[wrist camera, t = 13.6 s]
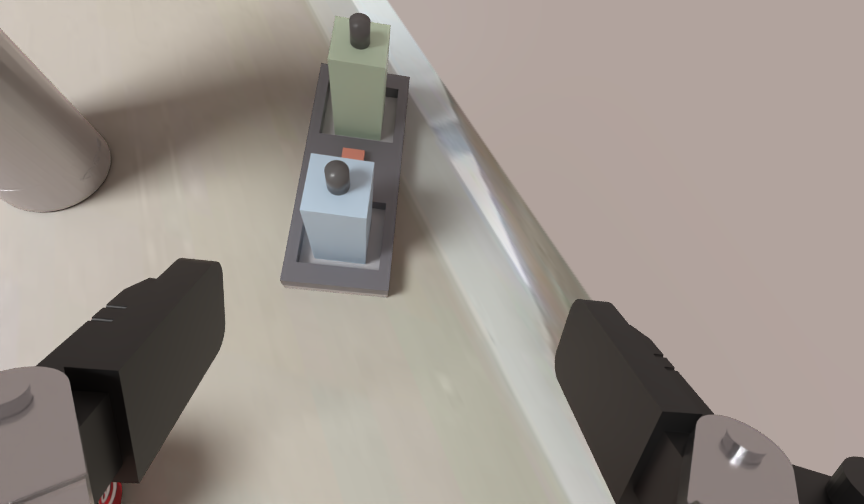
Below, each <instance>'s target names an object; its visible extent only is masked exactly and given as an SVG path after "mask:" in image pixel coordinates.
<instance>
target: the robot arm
mask: <svg viewBox="0 0 864 504" xmlns="http://www.w3.org/2000/svg"><path fill="white" fill-rule="evenodd" d="M110 164H111V153H110V150H109V147H108V144H107V143H106V141H105V140H104V138H103V137H102V136H101V135H100V134H99V133H98V132H97V131H96V129H95V128H94V127H93V126H92V125H91V124H90V123H89V122H88V121H87V120H86V119H85V118H84V117H83V116H82V115H81V114H80V112H79V111H78V110H77V109H76V108H75V107H74V106H73V105H72V104H71V103H70V102H69V101H68V99H67V98H66V97H65V96H64V95H63V94H62V93H61V92H60V91H59V90H58V89H57V88H56V87H55V86H54V85H53V84H52V82H51V81H50V80H49V79H48V78H47V77H46V76H45V75H44V74H43V73H42V72H41V71H40V70H39V69H38V68H37V67H36V65H35V64H34V63H33V62H32V61H31V60H30V59H29V58H28V57H27V56H26V55H25V54H24V53H23V52H22V51H21V50H20V49H19V47H18V46H17V45H16V44H15V43H14V42H13V41H12V40H11V39H10V38H9V37H8V36H7V35H6V34H5V33H4V32H3V30H2V29H1V28H0V199H2V200H4V201H6V202H7V203H9V204H11V205H12V206H14V207H16V208H20V209H23V210H26V211H33V212H51V211H56V210H61V209H65V208H68V207H70V206H73V205H75V204H77V203H79V202H81V201H83V200H84V199H86V198H88V197H89V196H90V195H91V194H92V193H94V192H95V191H96V190H97V189H98V188H99V186H100V185H101V184H102V183H103V182H104V180H105V178H106V176H107V174H108V172H109V168H110ZM224 332H225V310H224V291H223V273H222V267H221V265H220V263H219V262H216V261H206V260H196V259H187V258H179V259H178V260H176V261H175V262H174V263H173V264H172V265H171V266H170V267H169V268H168V269H167V270H166V271H165V272H164V273H162V274H161V275H160V276H159V277H158V278H157V279H154V278H148V279H146V280H144V281H142V282H139V283H137V284H135V285H133V286H131V287H128V288H126V289H124V290H123V291H122V292H121V293H119V294H118V295H117V296H116V297H115V298H114V299H112V300H111V301H110V302H109V303H108V304H107V306H106V308H102V309H101V310H100V311H99V312H97V313H96V314H95V315H94V316H93V317H92V320H91V321H87V322H86V323H85V324H84V325H83V326H81V327H80V328H79V329H78V330H77V331H76V332H74V333H73V334H72V335H71V336H70V337H69V338H68V339H66V340H65V341H64V342H63V343H62V344H61V345H59V346H58V347H57V348H56V349H55V350H54V351H53V352H51V353H50V354H49V355H48V356H47V357H46V358H45V359H43V360H42V361H41V362H40V363H39V364H38V365H36V366H33V367H21V368H14V369H9V370H4V371H0V504H99V500H100V498H101V497H102V495H103V494H104V492H105V491H106V489H107V488H108V486H109V485H110V483H111V482H119V483H140V481H141V479H142V478H143V476H144V474H145V473H146V471H147V469H148V468H149V466H150V464H151V463H152V461H153V459H154V458H155V456H156V455H157V453H158V451H159V450H160V448H161V446H162V445H163V443H164V441H165V440H166V438H167V436H168V435H169V433H170V431H171V430H172V428H173V426H174V425H175V423H176V421H177V420H178V418H179V416H180V415H181V413H182V411H183V410H184V408H185V406H186V405H187V403H188V402H189V400H190V398H191V397H192V395H193V393H194V392H195V390H196V388H197V387H198V385H199V383H200V382H201V380H202V378H203V377H204V375H205V373H206V372H207V370H208V368H209V367H210V365H211V363H212V362H213V360H214V358H215V357H216V355H217V353H218V352H219V350H220V347H221V345H222V341H223V337H224ZM555 372H556V377H557V380H558V382H559V384H560V386H561V388H562V390H563V393H564V395H565V397H566V399H567V401H568V403H569V405H570V407H571V410H572V412H573V414H574V416H575V418H576V420H577V422H578V424H579V427H580V429H581V431H582V433H583V435H584V437H585V439H586V441H587V444H588V446H589V448H590V450H591V452H592V454H593V456H594V459H595V461H596V463H597V465H598V467H599V469H600V471H601V473H602V476H603V478H604V480H605V482H606V484H607V486H608V488H609V490H610V493H611V495H612V497H613V499H614V501H615V503H616V504H864V458H863V457H849V458H846V459H845V460H844V461H843V463H842V464H841V465H840V466H839V468H838V469H837V471H836V472H835V473H834V474H833V476H832V477H831V476H828V475H825V474H821V473H818V472H815V471H812V470H808V469H805V468H802V467H798V466H795V465H792V464H791V462H790V460H789V459H788V457H787V456H786V455H785V453H784V452H783V451H782V450H781V449H780V448H779V447H778V446H777V445H776V444H775V443H774V442H773V441H771V440H770V439H769V438H768V437H766V436H765V435H764V434H762V433H761V432H759V431H758V430H756V429H754V428H752V427H751V426H749V425H747V424H745V423H743V422H740V421H738V420H736V419H733V418H730V417H726V416H722V415H714V413H713V412H712V411H711V410H710V409H709V408H708V406H707V405H706V404H705V403H704V402H703V400H702V399H701V398H700V397H699V396H698V395H697V393H696V392H695V391H694V390H693V389H692V388H691V386H690V385H689V384H688V383H687V382H686V381H685V379H684V378H683V377H682V376H681V375H680V374H679V372H678V371H675V370H674V366H673V365H672V364H671V363H670V362H669V361H668V359H667V358H663V354H662V352H661V351H660V350H659V349H658V348H657V347H656V345H655V344H654V343H653V342H652V341H651V340H650V339H649V338H648V337H647V336H645V335H644V334H642V333H641V332H639V331H638V330H637V329H635V328H634V327H632V326H631V325H629V324H628V323H627V321H626V320H625V319H624V318H623V317H622V315H621V314H620V313H619V312H618V311H617V309H616V308H615V307H614V306H613V305H612V304H611V303H609V302H602V301H592V300H583V299H577V300H576V301H575V302H574V303H573V304H572V306H571V309H570V312H569V315H568V318H567V321H566V324H565V327H564V330H563V333H562V336H561V339H560V342H559V345H558V348H557V351H556V356H555Z"/></svg>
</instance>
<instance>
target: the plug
mask: <svg viewBox="0 0 864 504" xmlns="http://www.w3.org/2000/svg"><path fill="white" fill-rule="evenodd" d="M373 180H374V162H369V161H363V160H356V159H349V158H342V157H335V156H328V155H321V154H314V153H311V156H310V161H309V166H308V171H307V176H306V181H305V186H304V191H303V196H302V201H301V206H300V213H301V216H302V219H303V223H304V226H305V229H306V232H307V236H308V239H309V242H310V245H311V249H312V252H313V255H314V258H316V259H324V260H333V261H341V262H350V263H358V264H366V256H367V249H368V241H369V234H370V226H371V219H372V200H373Z"/></svg>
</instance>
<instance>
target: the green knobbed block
mask: <svg viewBox="0 0 864 504" xmlns="http://www.w3.org/2000/svg"><path fill="white" fill-rule="evenodd" d="M390 27H391V25H385V24H380V23H374V22H370V18H369V17H368V16H367V15H365V14H362V13H355V14H353V15H352V16H351V17H350V18H344V17H338V16H335V21H334V27H333V32H332V38H331V43H330V48H329V54H328V69H329V79H330V90H331V100H332V110H333V121H334V131H335V135H342V136H349V137H356V138H363V139H371V140H378V141H380V139H381V131H382V123H383V114H384V106H385V94H386V80H387V67H388V54H389V40H390Z"/></svg>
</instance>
